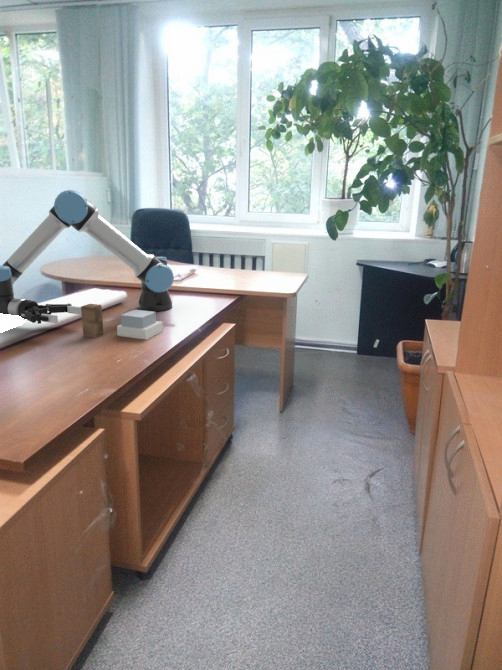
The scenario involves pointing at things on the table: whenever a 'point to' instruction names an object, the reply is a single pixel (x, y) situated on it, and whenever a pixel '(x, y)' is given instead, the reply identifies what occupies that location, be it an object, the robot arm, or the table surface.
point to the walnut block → (92, 320)
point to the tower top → (138, 318)
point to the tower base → (140, 331)
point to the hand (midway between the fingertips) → (70, 315)
